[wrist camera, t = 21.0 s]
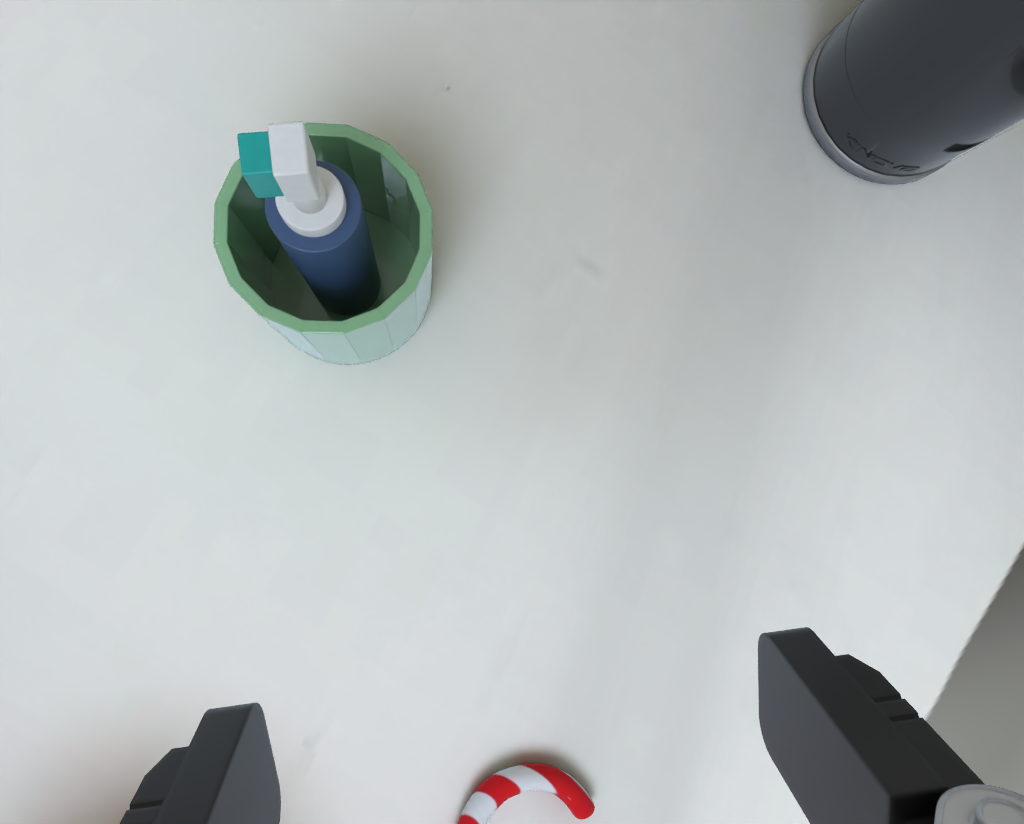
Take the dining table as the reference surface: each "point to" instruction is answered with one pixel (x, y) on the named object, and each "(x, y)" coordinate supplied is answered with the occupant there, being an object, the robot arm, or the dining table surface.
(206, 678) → the dining table surface
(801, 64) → the dining table surface
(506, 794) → the candy cane
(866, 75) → the robot arm
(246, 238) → the cup
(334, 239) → the toothbrush
